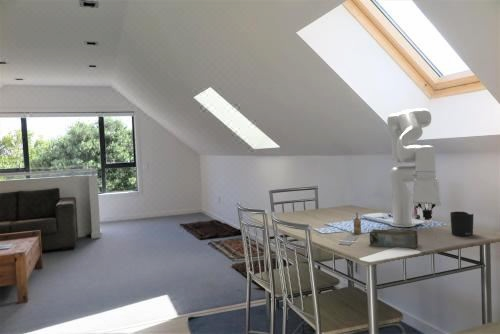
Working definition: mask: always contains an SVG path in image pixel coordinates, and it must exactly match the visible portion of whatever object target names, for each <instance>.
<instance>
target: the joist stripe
mask: <svg viewBox="0 0 500 334" xmlns="http://www.w3.org/2000/svg"><path fill="white" fill-rule="evenodd" d="M358 239H359V236H351V235H348V236H347V237H345V238H344V239H343V240H341V239H340V240H338V241H337V242H340V243H338V245H340V246H341V245H342V246H351V245H352V244H354V243H359V241H357V240H358Z"/></svg>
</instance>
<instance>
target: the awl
mask: <svg viewBox="0 0 500 334" xmlns="http://www.w3.org/2000/svg"><path fill="white" fill-rule="evenodd" d="M358 215H359V212H358V211H355V217H354V219H353V234H355V235H361V234H362V223H361V219H360V217H359V216H358Z"/></svg>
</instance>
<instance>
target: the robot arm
mask: <svg viewBox="0 0 500 334" xmlns="http://www.w3.org/2000/svg"><path fill="white" fill-rule="evenodd" d="M386 119H387V120H386V123H387V129H388V131H389V133H390V134H389V135H390V138H391V157H392V161H393V162H394V163H395V164H414V165H397V166H394V167H392V168H390V170H389V178H390V184H391V195H392V198H391V199H392V201H391V202H392V221H393V223H391V222H392V221H390V222H389V225H390V226H392V227H397V228H412V227H415V226H416V223H415V222H414V221H413V210H412V205H413V206H416V207H418V208H420V209H421V210H422V217H423V219H424V221H426V220H427V221H430V219H431V218H432V210H433V208H435V207H439V206H441V205H442V202H441V191H440V184H439V183H440V182H439V180H438V178H437V172H436V170H437V168H436V149H435V146H433V145H420V144H411V143H414V142H416V141H417V140H419V139H421V137H422V135H423V129H424V128H426V127H428V126H430V125H431V123H432V114H431V112H430V111H429V109H427V108H415V109H414V108H413V109H406V110H402V111H401V112H397V113H396V112H395V113H391V114H389V115H388V116H387V118H386ZM410 144H411V145H410ZM408 185H412V191H411V190H410V188H409V187H408ZM426 204H428V207H426ZM412 222H413V223H412Z"/></svg>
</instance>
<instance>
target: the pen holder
mask: <svg viewBox="0 0 500 334" xmlns="http://www.w3.org/2000/svg"><path fill="white" fill-rule="evenodd" d="M450 229H451V230H450V231H451V235H453V236H456V237H472V236H473V235H474V213H468V212H466V211H450Z"/></svg>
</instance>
